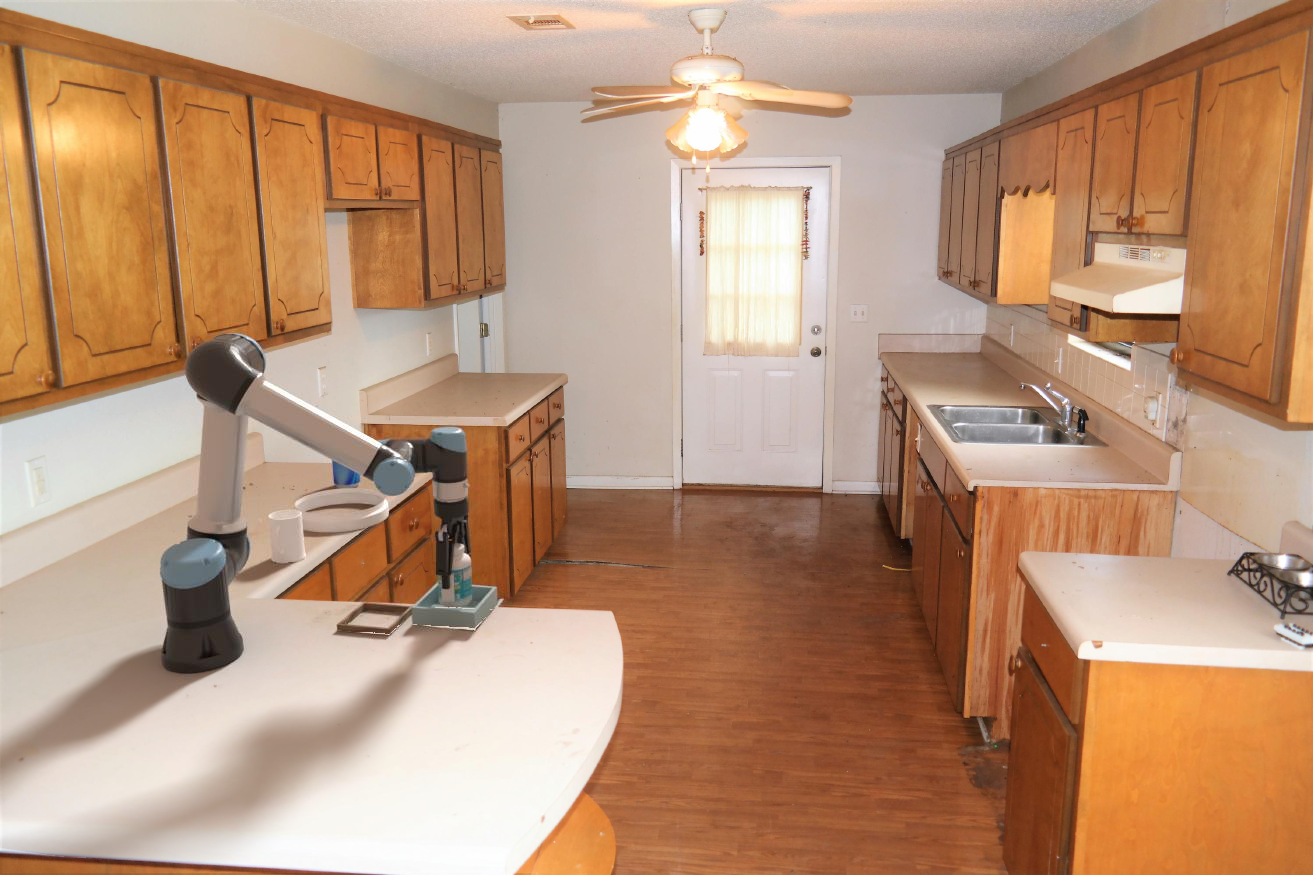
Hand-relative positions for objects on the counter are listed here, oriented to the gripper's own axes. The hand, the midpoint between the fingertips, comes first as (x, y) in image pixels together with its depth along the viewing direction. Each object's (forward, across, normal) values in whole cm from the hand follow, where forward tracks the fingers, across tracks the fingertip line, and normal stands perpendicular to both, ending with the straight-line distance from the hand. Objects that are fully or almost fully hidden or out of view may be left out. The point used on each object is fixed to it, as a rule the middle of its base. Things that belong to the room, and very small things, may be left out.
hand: (455, 593), depth 209 cm
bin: (+5, 0, 0) cm, 5 cm away
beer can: (+5, +88, +73) cm, 114 cm away
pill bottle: (+2, 0, 0) cm, 2 cm away
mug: (+5, +23, +56) cm, 61 cm away
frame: (+5, -7, +16) cm, 18 cm away
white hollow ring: (+6, +58, +59) cm, 83 cm away
